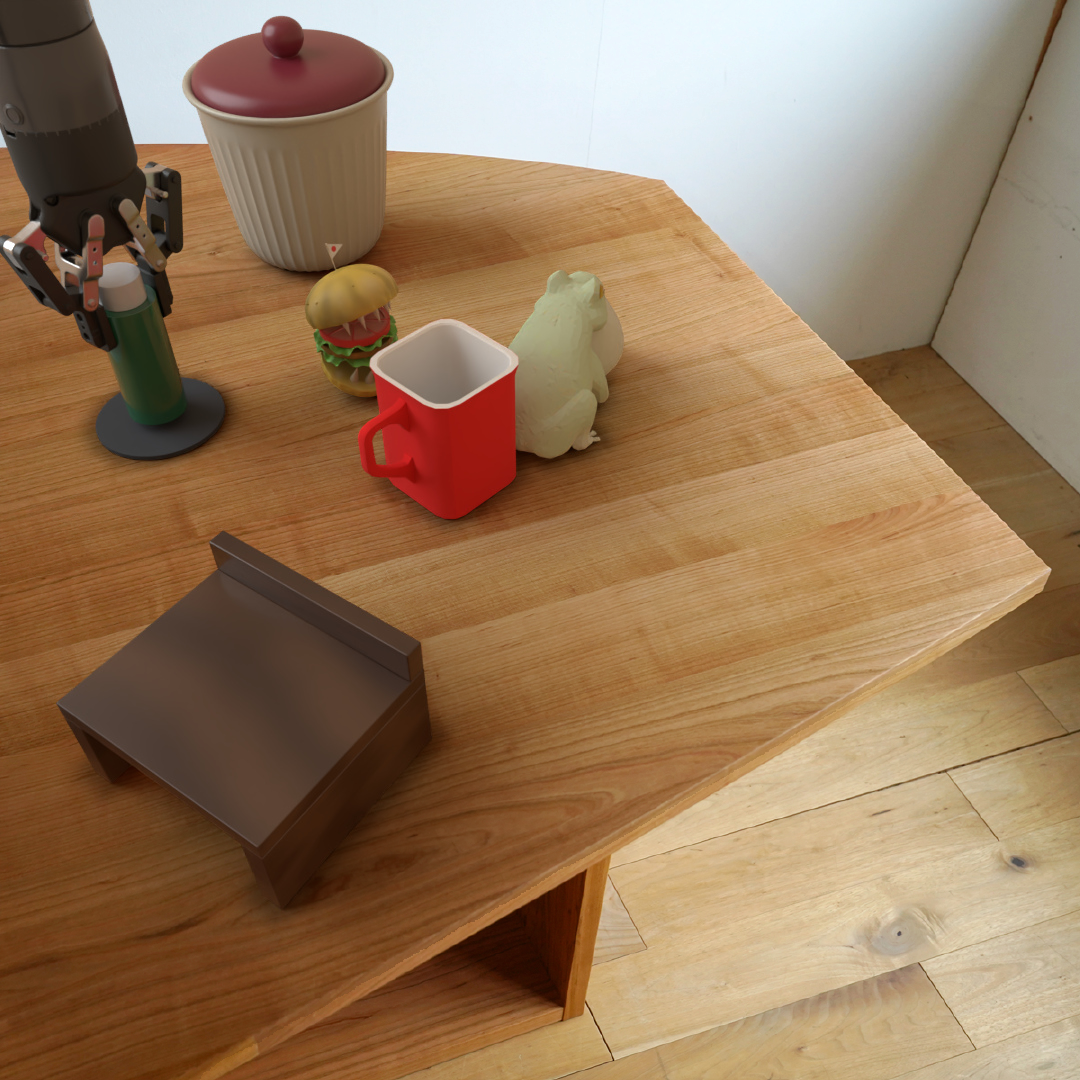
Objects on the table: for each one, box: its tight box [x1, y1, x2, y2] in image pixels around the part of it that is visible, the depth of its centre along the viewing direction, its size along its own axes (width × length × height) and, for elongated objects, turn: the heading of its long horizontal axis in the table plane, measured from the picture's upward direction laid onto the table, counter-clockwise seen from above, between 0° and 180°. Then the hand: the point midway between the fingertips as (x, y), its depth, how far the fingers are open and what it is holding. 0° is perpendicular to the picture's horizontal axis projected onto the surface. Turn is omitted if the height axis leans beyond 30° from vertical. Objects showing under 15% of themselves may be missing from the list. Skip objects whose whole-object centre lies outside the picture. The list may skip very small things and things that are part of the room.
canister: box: [181, 15, 395, 273], centre depth 94 cm, size 18×18×21 cm
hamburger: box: [304, 243, 400, 398], centre depth 83 cm, size 8×7×12 cm
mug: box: [357, 318, 519, 520], centre depth 74 cm, size 12×8×11 cm
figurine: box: [507, 269, 625, 460], centre depth 82 cm, size 10×16×10 cm, turn 157°
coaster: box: [95, 376, 226, 461], centre depth 83 cm, size 10×10×1 cm
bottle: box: [99, 261, 188, 425], centre depth 78 cm, size 5×5×12 cm
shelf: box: [56, 530, 433, 910], centre depth 58 cm, size 13×15×9 cm
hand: (132, 328), depth 77 cm, fingers closed on bottle, 4 cm apart
